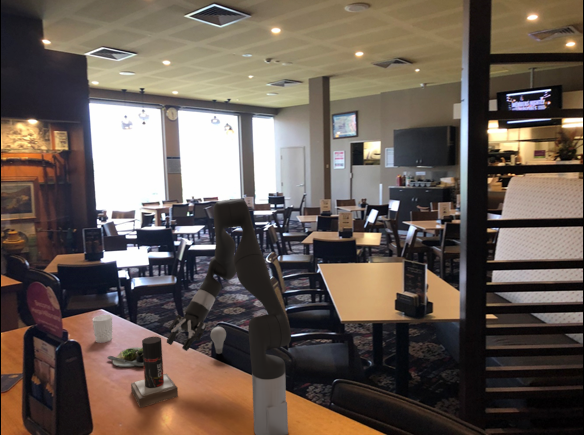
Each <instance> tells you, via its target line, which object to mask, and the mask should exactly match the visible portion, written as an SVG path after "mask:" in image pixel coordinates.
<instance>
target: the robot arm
mask: <svg viewBox="0 0 584 435" xmlns="http://www.w3.org/2000/svg"><path fill="white" fill-rule="evenodd" d="M213 225H214V236H215V237H214V239H215V248H214V249H215V250H214V256H213V257H212V258H211V259H210V261H209V264H208V269H207V272H206V275H205V278H204V280H203V282H202V284H201V285H200V287H199V289H198V290H197V291H196V293H195V294H194V296H193V297H192V299H191V300H190V302H189V304H188V305H187V307H186V309H184V310H185V311H184V313H185V315H184V316H181V314H178V315H176V317H175V319H174V320H173V322H171V324H170V326H169V327H168V330H169V331H171V332H170V334H169V336H168V338H167V339H166V344H167V345H169V346H171V345H173V343H174V342H175V340H176V338H177V337H178V335H179V334H181V333H184V332H187V333H188V337H187V338H186V339H185V342H184V343H183V345H182V350H184V351H186V352H188V351H189V350H190V349H191V346H192V345H193V343H194V342H195V341H197V342H200V340H201V339H202V336H203V334H204V332H205V330H206V329H207V324H205V323H204V321H205V320H206V318H207V316H208V314H210V311H211V309H212V307H213V305H214V303H215V301H216V299H217V297H218V296H219V294H220V292H221V290H222V287H223V286H222V284H221V283H220V281H218V280H217V279H216V278H214V276H215V275H216V276H217V277H219V278H221V279H224V280H226V281H228V280H231V279H233V278H234V277H235V276H237V279H238V282H239V283H240V285H241V286H242V287H243V288H244V289H245V290H247V291H248V293H250V294H251V295H252V296H254V297H255V298H256V299H257V300H258V301H259V302H260V303H261V305H262V306H263V307H264V309H265V311H266V312H267V314H263V315H258V316H255V317H252V318H251V319H249V322H248V330H247V332H248V339H249V351H250V352H249V353H250V363H251V382H252V384H251V386H252V408H253V409H252V411H253V414H252V415H253V432H254V434H255V435H289V427H288V426H289V425H288V424H289V422H288V418H289V417H288V401H287V392H286V391H287V389H286V388H287V387H286V363H285V361H284V359H283V358H282V357H279V356H277V355H273V354H267V351H269V350H273V349H278V348H282V347H286V346H288V345H289V344H290V342H291V341H292V332H291V331H292V330H291V326H290V323H289V320H288V318H287V315H286V313H285V311H284V309H283V306H282V304H281V302H280V300H279V298H278V295H277V292H276V290H275V287H274V284H273V282H272V278H271V276H270V272H269V269H268V266H267V263H266V260H265V257H264V254H263V252H262V249H261V247H260V244H259V241H258V237H257V236H256V232H255V228H254V224H253V220H252V217H251V213H250V209H249V206H248V204H247V202H246V200H245V199H243V198H232V199H231V198H230V199H223V200H218V201H216V203H215V204H214V206H213ZM238 227H239V228H241V231H242V233H241V237H240V241H239V244H238V246H237V248H236V242H235V240H234V239H233V237H232V236H231V235H230V234H229V233H228V232H227V230H226V229H231V228H238Z"/></svg>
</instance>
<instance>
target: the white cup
mask: <svg viewBox="0 0 584 435" xmlns="http://www.w3.org/2000/svg"><path fill="white" fill-rule="evenodd" d="M92 327H93V336H94V338H95V339H94V341H95V342H96V343H99V344H100V343H101V344H102V343H107V342H110V341H111V340H113V316H112V315H111V314H100V315H97V316H94V317H93V318H92Z"/></svg>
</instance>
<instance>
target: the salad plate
mask: <svg viewBox="0 0 584 435" xmlns="http://www.w3.org/2000/svg"><path fill="white" fill-rule="evenodd" d="M107 359H108V360H111V361H112V364H113V365H114V366H116V367H120V368H144V363H143V348H142V347H139V346H138V347H137V346H136V347H128V348H126V349H123V350H121V351H120V352H119V353H118V354H117V356H112V355H109V356H108V357H107Z"/></svg>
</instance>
